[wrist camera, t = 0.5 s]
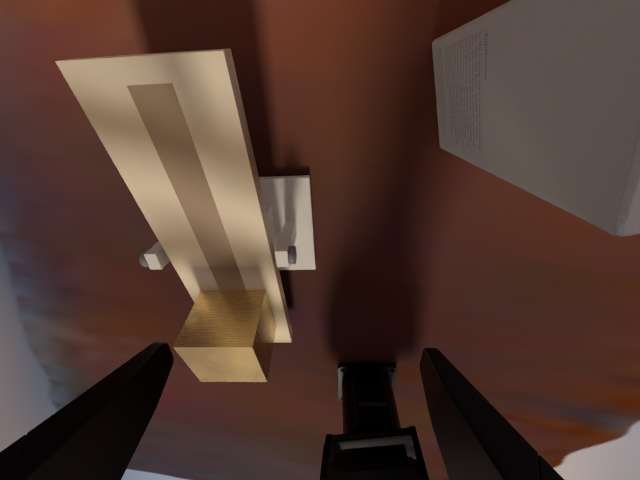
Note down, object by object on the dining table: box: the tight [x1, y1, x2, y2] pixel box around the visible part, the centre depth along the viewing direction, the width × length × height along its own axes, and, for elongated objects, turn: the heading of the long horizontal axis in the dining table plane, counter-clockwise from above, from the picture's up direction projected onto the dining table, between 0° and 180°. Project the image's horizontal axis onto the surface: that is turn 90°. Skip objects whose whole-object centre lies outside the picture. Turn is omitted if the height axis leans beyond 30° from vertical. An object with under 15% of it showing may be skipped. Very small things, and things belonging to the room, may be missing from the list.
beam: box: [55, 49, 293, 342], centre depth 18 cm, size 22×7×1 cm, turn 3°
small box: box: [432, 0, 640, 236], centre depth 10 cm, size 8×6×13 cm
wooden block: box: [173, 290, 276, 382], centre depth 20 cm, size 5×5×4 cm
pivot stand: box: [139, 175, 316, 270], centre depth 19 cm, size 8×12×5 cm, turn 93°
